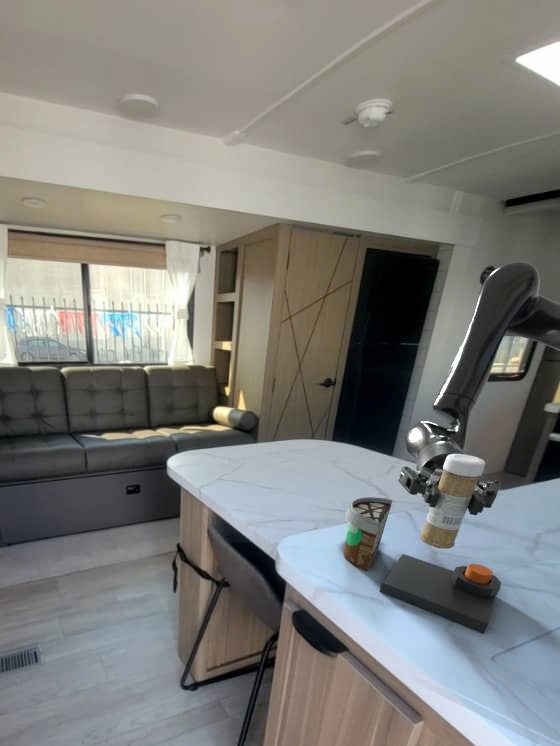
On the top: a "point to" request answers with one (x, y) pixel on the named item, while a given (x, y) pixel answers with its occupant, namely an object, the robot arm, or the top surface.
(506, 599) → the top surface
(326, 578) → the top surface
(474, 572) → the button
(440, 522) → the sprinkles bottle
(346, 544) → the food container
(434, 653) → the top surface
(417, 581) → the scale
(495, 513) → the top surface
